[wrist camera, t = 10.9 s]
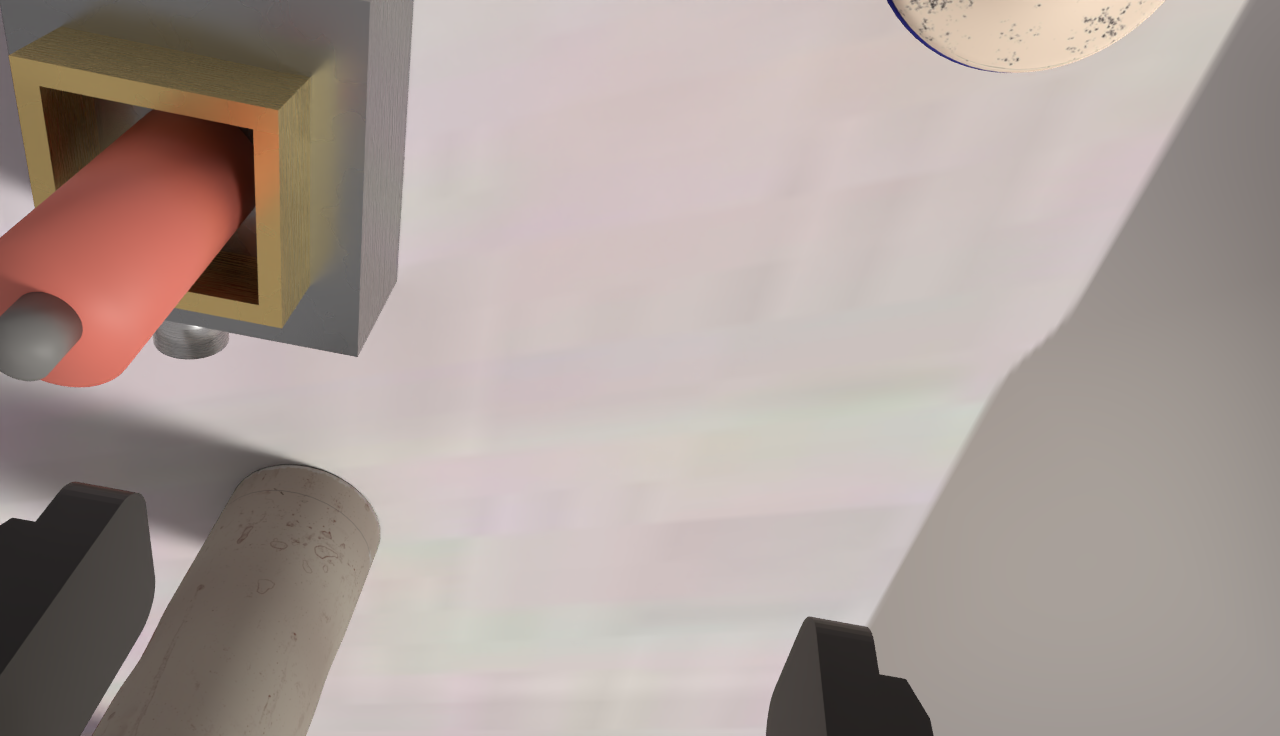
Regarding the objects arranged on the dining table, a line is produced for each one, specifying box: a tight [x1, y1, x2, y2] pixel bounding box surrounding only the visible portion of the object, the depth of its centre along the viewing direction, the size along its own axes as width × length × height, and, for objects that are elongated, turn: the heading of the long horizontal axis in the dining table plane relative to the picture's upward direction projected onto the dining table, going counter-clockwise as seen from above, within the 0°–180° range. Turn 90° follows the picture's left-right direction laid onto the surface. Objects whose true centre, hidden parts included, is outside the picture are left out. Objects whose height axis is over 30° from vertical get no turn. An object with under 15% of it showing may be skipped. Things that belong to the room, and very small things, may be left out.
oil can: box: [0, 109, 256, 387], centre depth 31 cm, size 5×5×12 cm
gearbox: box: [0, 0, 413, 359], centre depth 38 cm, size 17×12×9 cm
